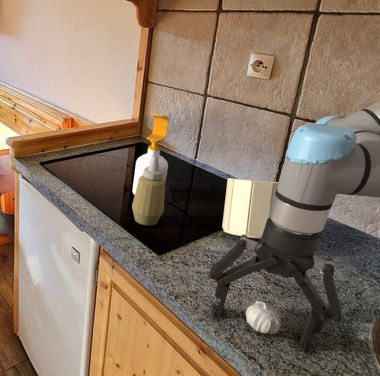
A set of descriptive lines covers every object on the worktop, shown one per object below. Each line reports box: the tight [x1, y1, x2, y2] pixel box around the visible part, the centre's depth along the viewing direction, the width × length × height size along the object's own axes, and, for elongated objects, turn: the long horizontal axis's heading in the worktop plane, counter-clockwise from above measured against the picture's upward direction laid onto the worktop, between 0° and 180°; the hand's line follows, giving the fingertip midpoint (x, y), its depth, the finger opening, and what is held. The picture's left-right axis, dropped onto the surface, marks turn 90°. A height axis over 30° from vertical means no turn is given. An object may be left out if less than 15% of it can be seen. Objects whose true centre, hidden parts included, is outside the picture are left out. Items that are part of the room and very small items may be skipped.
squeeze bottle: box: [131, 156, 166, 227], centre depth 103 cm, size 8×8×18 cm
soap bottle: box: [132, 113, 170, 196], centre depth 116 cm, size 9×9×25 cm
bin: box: [221, 177, 279, 239], centre depth 97 cm, size 11×11×13 cm
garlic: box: [245, 300, 282, 335], centre depth 71 cm, size 6×5×5 cm
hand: (259, 327), depth 72 cm, fingers open, 13 cm apart
